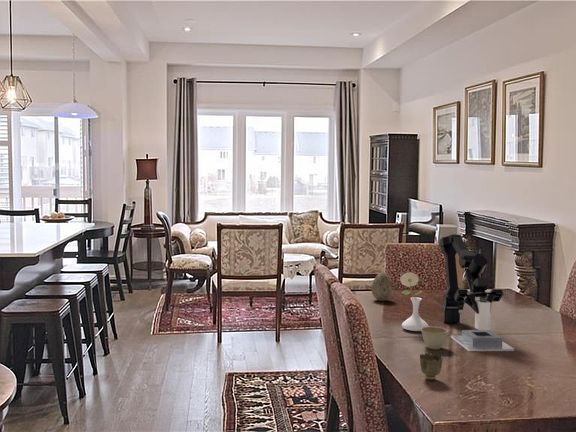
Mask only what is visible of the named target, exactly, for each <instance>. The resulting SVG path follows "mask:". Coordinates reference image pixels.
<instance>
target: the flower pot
mask: <svg viewBox="0 0 576 432" xmlns="http://www.w3.org/2000/svg"><path fill="white" fill-rule="evenodd" d="M420 332H421V336H422V338H423V339H422V340H423V342H424V344H425V345H426V347H427V349H430V350H440V349H441V348H442V347H443V345H444V344H445V342H446V339H447V337H448V332H449V331H448V329H446V328H444V327H440V326H429V327H424V328H422V329H421V331H420Z"/></svg>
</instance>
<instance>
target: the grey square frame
mask: <svg viewBox="0 0 576 432" xmlns="http://www.w3.org/2000/svg"><path fill="white" fill-rule="evenodd" d="M450 338H451V339H452V340H454V341H455V342H457V343H458V344H459V345H460V346H461V347H463V348H464V349H465V350H466V351H467V352H514V351H515V348H513V347H512V346H511V345H509V344H507V343H506V342H504V341H503V339H504V338H503V337H502V336H500V335H499V334H497V333H496V332H494V331H493V330H491V329H490V330H478V329H461V334H459V335H458V334H451V335H450Z"/></svg>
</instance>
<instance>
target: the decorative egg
mask: <svg viewBox="0 0 576 432" xmlns="http://www.w3.org/2000/svg"><path fill="white" fill-rule="evenodd" d="M371 294H372V296H373V297H374V299H375V300H377V301H380V302H385V301H387V300H389V299H390V297H391V296H392V294H393V283H392V281H391V277H389V275H388V274H387V273H386V272H383V271H382V272H380V273H378V274H377V275H376V276H375V278H373V281H372V284H371Z"/></svg>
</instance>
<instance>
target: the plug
mask: <svg viewBox="0 0 576 432" xmlns="http://www.w3.org/2000/svg"><path fill="white" fill-rule="evenodd" d="M475 301H476V304H477V307H478V310H479V314H477V313H476V312H475V311H474V328H475V330H491V329H490V327H491V325H490V324H491V313H490V309H491V310H492V303H490V302H488V301H487V298H486V297H479V300H476V299H475Z"/></svg>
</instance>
